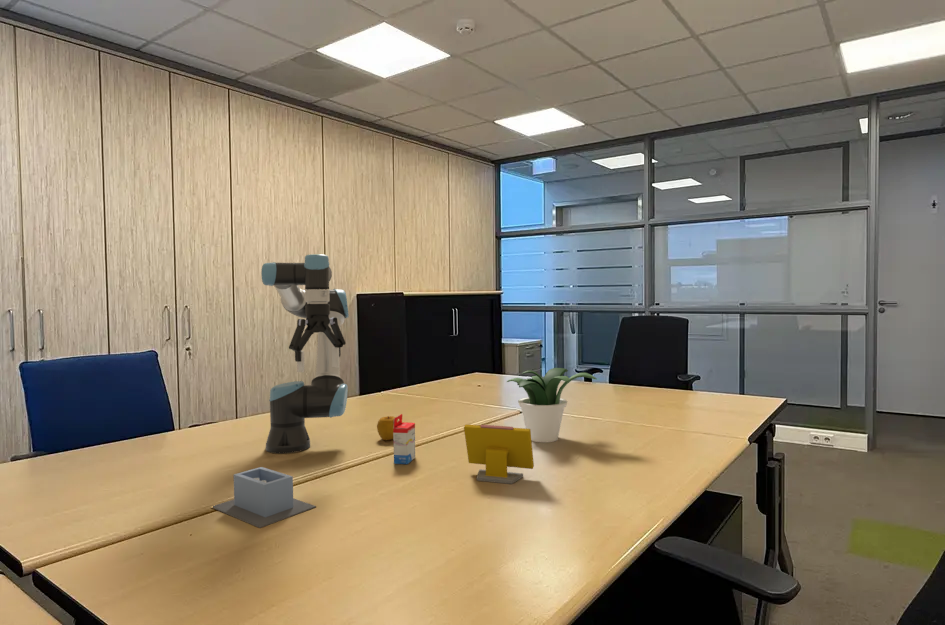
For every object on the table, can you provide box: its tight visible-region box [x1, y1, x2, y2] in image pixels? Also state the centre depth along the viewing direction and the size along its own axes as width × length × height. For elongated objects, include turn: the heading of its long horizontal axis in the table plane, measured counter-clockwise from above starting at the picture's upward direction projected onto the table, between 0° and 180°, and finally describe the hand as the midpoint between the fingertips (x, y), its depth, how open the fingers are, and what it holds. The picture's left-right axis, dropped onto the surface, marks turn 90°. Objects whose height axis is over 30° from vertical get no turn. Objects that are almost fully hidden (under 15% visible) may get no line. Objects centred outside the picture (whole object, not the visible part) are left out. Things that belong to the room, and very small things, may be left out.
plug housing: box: [233, 466, 294, 517], centre depth 146 cm, size 14×8×8 cm, turn 53°
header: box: [212, 478, 317, 529], centre depth 146 cm, size 22×16×7 cm
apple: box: [376, 415, 399, 441], centre depth 213 cm, size 8×8×9 cm
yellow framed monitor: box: [463, 424, 535, 485], centre depth 167 cm, size 20×8×16 cm, turn 71°
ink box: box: [392, 413, 416, 465], centre depth 186 cm, size 8×5×15 cm, turn 168°
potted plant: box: [506, 367, 597, 443], centre depth 212 cm, size 32×35×26 cm
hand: (318, 369), depth 181 cm, fingers open, 13 cm apart
